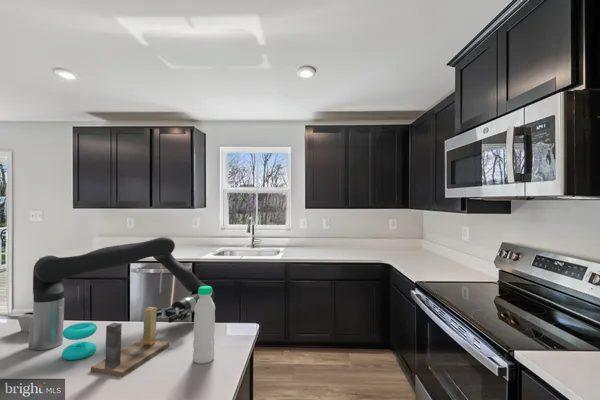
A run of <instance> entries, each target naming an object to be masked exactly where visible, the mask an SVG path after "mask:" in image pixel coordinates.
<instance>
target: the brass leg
mask: <svg viewBox="0 0 600 400" xmlns="http://www.w3.org/2000/svg"><path fill="white" fill-rule="evenodd" d="M157 309H158V308H157V306H156V307H155V306H149V307H146V308H144V310H143V335H142V336H143V338H142V339H143V345H149V346H150V345H152V344H154V343H155V342H156V341H157V318H156V313H157Z"/></svg>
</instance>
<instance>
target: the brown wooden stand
mask: <svg viewBox="0 0 600 400" xmlns="http://www.w3.org/2000/svg"><path fill="white" fill-rule="evenodd" d="M105 329H106V332H105V353H104V354H105V358H104V359H103V360H100V361H99V362H97V363H95V364H94V365H92V366H90V372H91V373H95V374H100V375H101V374H102V375H108V376H115V377H121V378H123V377H125V376H126V375H129V373H131V372H132V371H134V370H135V369H137V368H138V367H140V366H142V365H143V364H144V363H146V362H147V361H149V360H151V359H152V358H154V357H155V356H157V355H159V354H160V353H162V352H163V351H165V350H166V349H168V348H169V347H170V342H168V341H161V340H156V342H155V343H154V344H152V345H150V346H149V345H143V338H141V339H140V340H138V341H136V342H133V343H132V344H130V345H128V346H126V347H124V348H123V349H122V348H121V347H122V323H118V322H112V323H110V324H107V325H106V327H105Z"/></svg>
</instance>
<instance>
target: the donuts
mask: <svg viewBox="0 0 600 400" xmlns="http://www.w3.org/2000/svg"><path fill="white" fill-rule="evenodd" d="M97 330H98V326H97V324H96V323H93V322H80V323H75V324H71V325H69V326H67V327H65V329H63V339H66V340H68V341H69V340H70V341H77V342H74V343H71V344H69V345H67V346H66V347H64V349H63V350H62V352H61V356H62V358H63V359H64V360H67V361H78V360H81V359H85V358H87V357H90V356H92V355H93V354H94V353H95V352H96V350H97V345H96V343H94V342H92V341H87V340H85V341H79V340H82V339H86V338H89V337H91V336H93V335H94V334H95V333H96V332H97Z"/></svg>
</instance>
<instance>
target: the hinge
mask: <svg viewBox="0 0 600 400" xmlns="http://www.w3.org/2000/svg"><path fill="white" fill-rule="evenodd" d="M17 321H18V323H19V328H20V330H21V332H25V331H26V333H29V326H30V322H32V321H33V310H30V311H27V312H24V313H23V314H21V315H20V316H18V317H17Z"/></svg>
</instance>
